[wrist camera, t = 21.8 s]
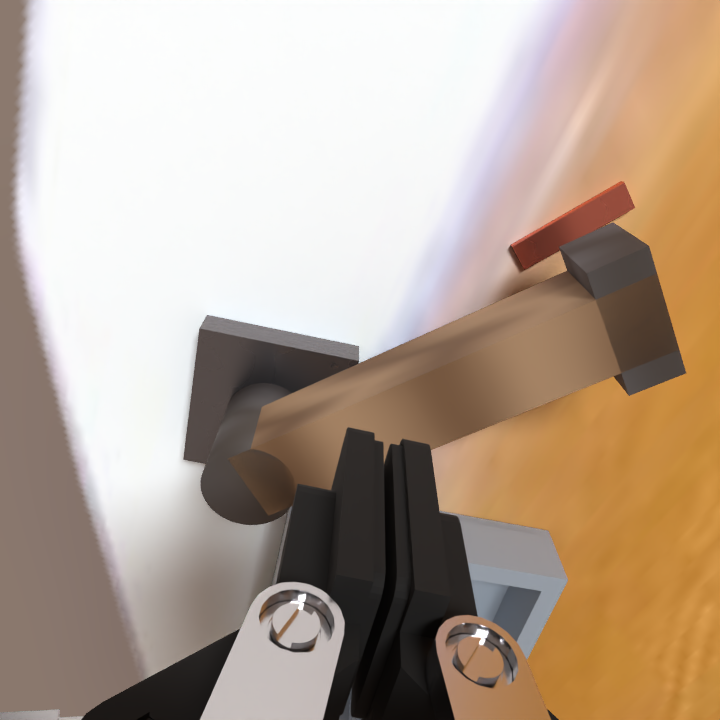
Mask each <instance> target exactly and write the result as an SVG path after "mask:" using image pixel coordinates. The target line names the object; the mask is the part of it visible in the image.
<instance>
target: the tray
mask: <svg viewBox="0 0 720 720" xmlns="http://www.w3.org/2000/svg"><path fill="white" fill-rule="evenodd" d="M291 510H292V506H291V507H290V509H289V510H288V515H287V519H286V523H285V528H284V532H283V537H282V541H281V546H280V550H279V554H278V559H277V563H276V568H275V572H274V577H273V581H272V585H271V586H273V585H276V581H277V576H278V571H279V566H280V561H281V556H282V551H283V546H284V542H285V537H286V532H287V528H288V523H289V519H290V514H291ZM439 512H440V513H445V514H450V515H455V516H457V517H458V518H459V520H460V523H461V528H462V534H463V539H464V545H465V550H466V555H467V561H468V566H469V572H470V577H471V582H472V588H473V593H474V599H475V604H476V609H477V615H478V617H481V618H484V619H486V620H488V621H491V622H493V623H495V624H497V625H498V626H499V627H501V628H502V629H504V630H505V631H506V632H508V633H509V634H510V636H511V637H512V638H513V639H514V640H515V641H516V642H517V643H518V645H519V646H520V648H521V650H522V652H523V653H524V655H525V657H526V660H527V658H528V657H529V655H530V653H531V651H532V649H533V647H534V645H535V643H536V641H537V639H538V637H539V635H540V633H541V631H542V629H543V628H544V626H545V624H546V622H547V620H548V618H549V616H550V614H551V612H552V610H553V608H554V606H555V604H556V602H557V600H558V599H559V597H560V595H561V593H562V591H563V589H564V587H565V585H566V583H567V581H568V579H567V576H566V574H565V571H564V569H563V566H562V564H561V561H560V559H559V556H558V554H557V551H556V549H555V546H554V544H553V541H552V539H551V536H550V534H549V531H548V530H542V529H536V528H531V527H525V526H520V525H514V524H509V523H503V522H498V521H492V520H486V519H481V518H475V517H470V516H464V515H459V514H453V513H448V512H442V511H439ZM339 720H349V697H348V700H347V703H346V706H345V709H344V712H343V714H342V715H340V718H339Z"/></svg>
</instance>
